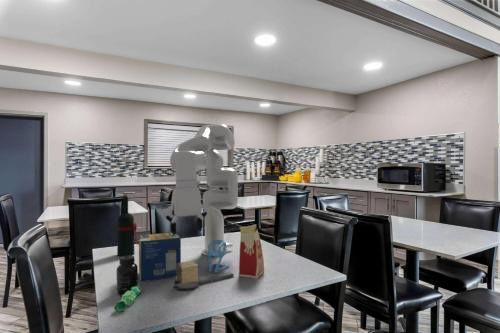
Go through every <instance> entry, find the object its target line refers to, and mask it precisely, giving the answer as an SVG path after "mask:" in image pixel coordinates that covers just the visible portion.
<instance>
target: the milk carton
mask: <svg viewBox="0 0 500 333" xmlns="http://www.w3.org/2000/svg"><path fill="white" fill-rule="evenodd" d="M238 228H239V229H240V240H239V255H238V256H239V257H238V258H239V259H238V260H239V262H238V277H243V278H250V277H251V279H256V280H257V279H258V278H259V277H260V276H261V275H262V274H263V273H264V272H265V262H264V255H263V253H264V252H263V249H262V243H261V242H262V241H261V238H260V233H259V231H258V228H257V224H252V225H248V226H242V227H241V226H240V227H238Z"/></svg>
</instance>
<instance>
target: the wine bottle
mask: <svg viewBox="0 0 500 333" xmlns="http://www.w3.org/2000/svg"><path fill="white" fill-rule="evenodd" d="M122 198H123V199H122V200H123V201H122V202H123V204H122V206H123V211H122V212H123V213H121V214H120V215H119V216H118V218H117V245H116V246H117V247H116V248H117V257H119V258H120V257H122V256H127V255H132V256H135V243H136V245H137V246H139V241H138V238H137V237H138V236H137V228H138V226H137V222H135V218H134V216H133V214H132V213H129V194H128V193H124V194H123V197H122Z"/></svg>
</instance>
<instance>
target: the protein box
mask: <svg viewBox="0 0 500 333" xmlns="http://www.w3.org/2000/svg"><path fill="white" fill-rule="evenodd" d="M181 242H182V239H181V236H179V234H178V233H177V232H176V234H172V232H166V233H165V232H164V233H153V234H141V235H138V244H139V245H138V276H139V281H140V283H142V282H143V283H144V282H148V281H149V282H151V281H157V280H163V279H164V280H165V279H171V278H176V264H177V263H182V256H181V255H182V249H181V248H182V246H181V244H182V243H181Z"/></svg>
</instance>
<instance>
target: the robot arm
mask: <svg viewBox="0 0 500 333" xmlns="http://www.w3.org/2000/svg"><path fill="white" fill-rule="evenodd" d="M234 147H235V136H234V134H233V133H232V131H231V129H230V128H229V126H227V125H225V124H203V125H202V126H201V127H200V128H199V129H198V131H197V133H196V134H195V135H194V137H192V138H190V139H187V140H186V141H184V142H181V143H180V144H177V145H176V147H175V148H174V150H173V151H172V153H171V155H170V159H169V163H170V164H169V165H170V167H171V168H172V169H173V170H174V171H175V188H173V190H172V195H171V205H170V206H168V207H167V208H165V209H163V210H162V211H161V212H162V214H163V216H164V218H165V219H166V220H167V221H168V223H170V224H169V225H170V226H169V227H170V228H169V229H170V233H172V234H176V233H177V223H176V221H177V220H178V218H184V217H194V216H196V218H197V219H196V230H197V231H200V232H202V231H203V230H202V229H203V228H204V248H203V249H202V250H201V254H203V255H204V256H206V254H207V253H208V251H209V250H208V244H209V242H211V241H214V240H222V241H224V242H225V232H224V231H225V230H224V229H225V227H224V226H225V225H224V224H225V222H224V221H225V218H224V215H223V213H222V211H221V210H233V209H235V208H237V206H238V202H239V198H238V197H239V196H238V195H239V193H238V192H239V190H238V189H239V187H238V186H239V184H238V183H239V182H238V181H239V178H238V177H239V176H238V172H237V171H236V169H234V168H227V167H226V168H224V157H223V156H222V154H221V153H220V152H219V151H230V150H232V149H233V148H234ZM205 169H206V175H205V176H206V177H205V178H206V185H207V186H209V187H210V188H211V187H212V188H227V189H209V190H208V189H207V190H206V191H204V192H203V194H202V201H201V194H200V188H198V186H200V185H201V181H199V180H198V176H197V175H198V171H203V170H205ZM202 209H203V211H202ZM169 212H170V213H171V216H170V215H169ZM203 220H204V224H203ZM203 225H204V226H203ZM219 246H220V244H215V250H219ZM223 247H224V245H223V246H222V247H221V249H220V251H223ZM232 247H233V243H232V242H229V243H228V242H226V246H225V251H227V252H228V248H232ZM209 248H210V252H211V251H212V250H213V249H214V246H213V244H211V245H210V247H209Z"/></svg>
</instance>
